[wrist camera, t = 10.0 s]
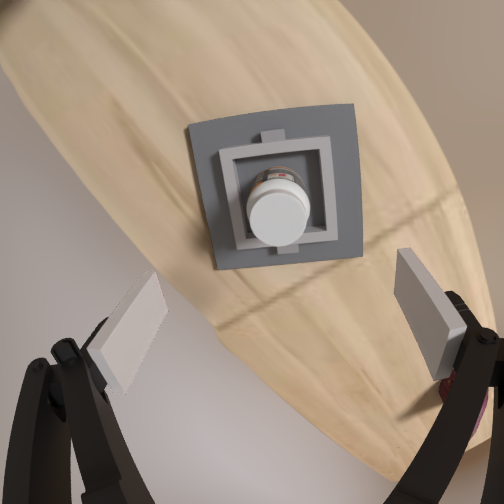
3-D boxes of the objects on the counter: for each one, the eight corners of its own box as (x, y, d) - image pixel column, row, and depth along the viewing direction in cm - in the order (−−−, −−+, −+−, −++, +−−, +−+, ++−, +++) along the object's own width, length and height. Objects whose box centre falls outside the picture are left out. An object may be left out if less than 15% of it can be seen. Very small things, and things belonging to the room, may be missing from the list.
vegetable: (441, 389, 51) (445, 453, 40) (432, 371, 47) (437, 444, 36) (485, 374, 46) (494, 438, 35) (482, 353, 42) (494, 427, 31)
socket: (190, 124, 32) (183, 125, 30) (351, 103, 29) (357, 103, 27) (219, 266, 40) (215, 277, 37) (361, 252, 37) (366, 263, 34)
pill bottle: (252, 165, 33) (240, 186, 24) (305, 165, 32) (314, 185, 23) (254, 215, 35) (243, 252, 26) (304, 215, 35) (312, 252, 26)
